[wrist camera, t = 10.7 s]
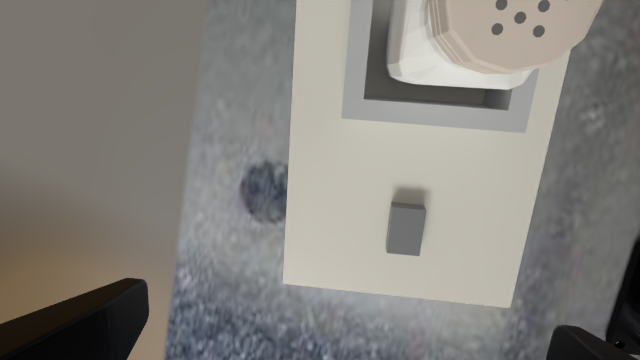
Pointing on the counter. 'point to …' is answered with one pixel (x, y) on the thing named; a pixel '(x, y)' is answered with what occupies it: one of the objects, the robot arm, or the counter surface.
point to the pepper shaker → (481, 39)
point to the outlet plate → (406, 167)
